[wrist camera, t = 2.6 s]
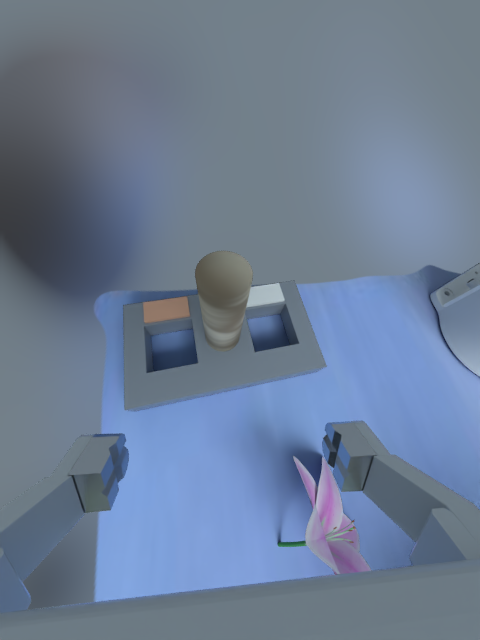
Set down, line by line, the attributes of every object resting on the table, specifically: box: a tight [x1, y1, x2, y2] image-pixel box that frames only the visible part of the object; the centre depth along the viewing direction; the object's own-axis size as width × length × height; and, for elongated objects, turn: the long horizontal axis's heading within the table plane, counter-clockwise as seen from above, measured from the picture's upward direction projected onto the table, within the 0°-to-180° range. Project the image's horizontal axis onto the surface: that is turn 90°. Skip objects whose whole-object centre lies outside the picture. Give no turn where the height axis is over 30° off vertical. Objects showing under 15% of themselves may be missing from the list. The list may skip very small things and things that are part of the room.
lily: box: [278, 456, 372, 575], centre depth 19 cm, size 12×12×10 cm
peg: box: [195, 251, 253, 351], centre depth 21 cm, size 4×4×12 cm
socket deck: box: [123, 280, 327, 411], centre depth 28 cm, size 22×12×3 cm, turn 103°
